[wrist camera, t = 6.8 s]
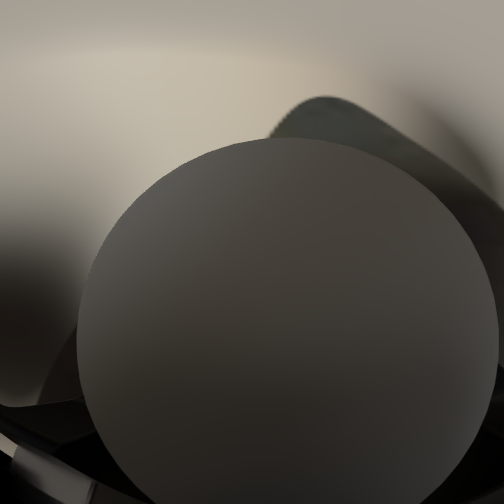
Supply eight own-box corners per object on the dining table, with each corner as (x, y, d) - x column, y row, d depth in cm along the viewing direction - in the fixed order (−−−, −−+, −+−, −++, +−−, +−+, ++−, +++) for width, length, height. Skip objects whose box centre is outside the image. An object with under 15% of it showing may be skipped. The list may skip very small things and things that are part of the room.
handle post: (371, 307, 16) (558, 340, 2) (314, 367, 16) (269, 585, 2) (312, 252, 17) (260, 70, 3) (256, 312, 17) (32, 347, 3)
